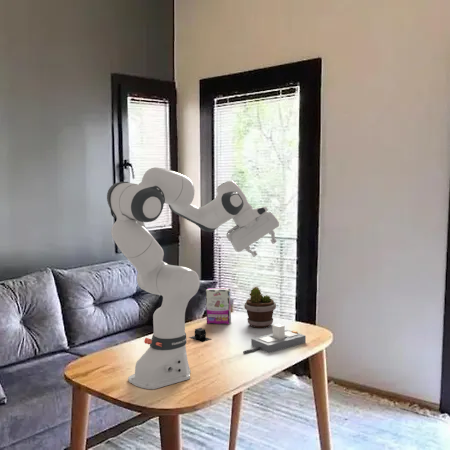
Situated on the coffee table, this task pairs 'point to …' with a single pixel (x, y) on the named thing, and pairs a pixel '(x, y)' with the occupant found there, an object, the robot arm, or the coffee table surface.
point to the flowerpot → (259, 309)
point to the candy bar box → (218, 306)
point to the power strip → (276, 342)
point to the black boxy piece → (198, 335)
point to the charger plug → (278, 331)
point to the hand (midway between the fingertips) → (265, 249)
